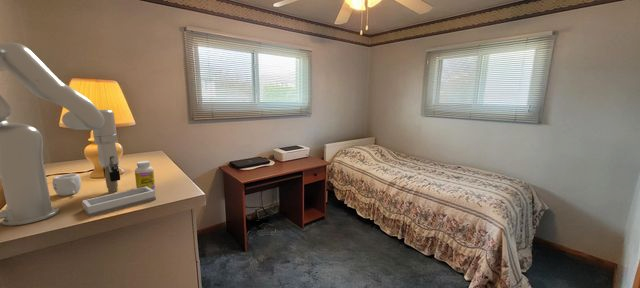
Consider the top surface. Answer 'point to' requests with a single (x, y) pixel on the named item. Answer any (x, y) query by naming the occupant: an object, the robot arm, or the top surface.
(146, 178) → the supplement bottle
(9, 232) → the top surface
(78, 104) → the robot arm
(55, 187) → the mug
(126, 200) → the track
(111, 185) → the handle
